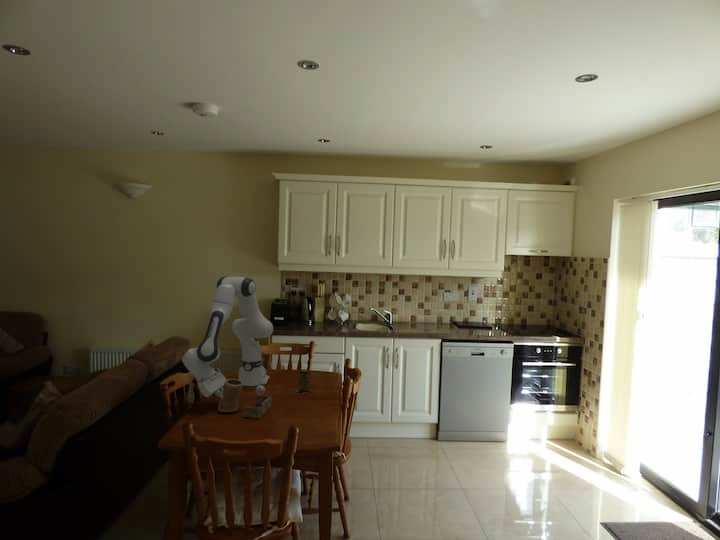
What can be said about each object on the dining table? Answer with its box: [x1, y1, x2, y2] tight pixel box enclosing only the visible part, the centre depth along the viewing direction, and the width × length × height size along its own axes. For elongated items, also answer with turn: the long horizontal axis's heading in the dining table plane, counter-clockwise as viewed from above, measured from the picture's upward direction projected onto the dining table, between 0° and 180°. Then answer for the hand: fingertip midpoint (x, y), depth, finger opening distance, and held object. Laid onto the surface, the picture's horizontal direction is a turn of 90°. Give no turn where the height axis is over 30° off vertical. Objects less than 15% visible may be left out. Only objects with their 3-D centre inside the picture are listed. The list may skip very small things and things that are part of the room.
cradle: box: [242, 384, 274, 419], centre depth 224 cm, size 19×10×15 cm, turn 172°
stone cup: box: [217, 378, 244, 413], centre depth 226 cm, size 15×12×15 cm
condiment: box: [294, 369, 310, 395], centre depth 258 cm, size 7×8×12 cm
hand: (224, 396), depth 226 cm, fingers closed
